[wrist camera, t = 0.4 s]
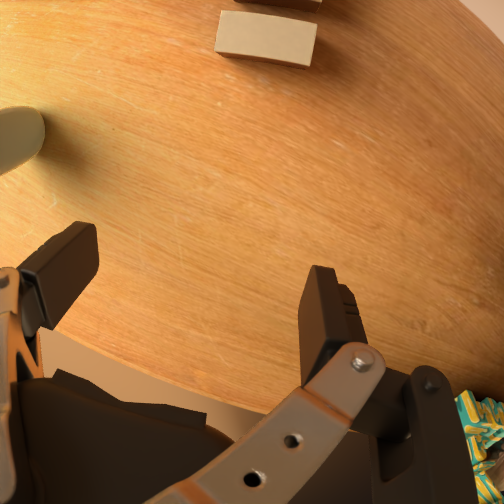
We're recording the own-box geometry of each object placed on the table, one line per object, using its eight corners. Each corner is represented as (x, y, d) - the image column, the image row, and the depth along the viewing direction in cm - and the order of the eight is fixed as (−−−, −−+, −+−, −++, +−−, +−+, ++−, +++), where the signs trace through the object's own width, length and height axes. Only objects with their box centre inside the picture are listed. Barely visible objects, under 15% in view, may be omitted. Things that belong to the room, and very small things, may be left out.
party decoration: (429, 415, 52) (458, 569, 18) (468, 385, 47) (513, 547, 12) (481, 425, 58) (509, 535, 23) (511, 402, 52) (547, 514, 18)
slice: (229, 21, 23) (221, 9, 19) (312, 33, 23) (317, 24, 19) (222, 57, 25) (213, 51, 21) (305, 70, 25) (310, 65, 21)
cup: (12, 109, 28) (-42, 125, 19) (50, 94, 27) (-9, 105, 18) (20, 163, 31) (-31, 188, 23) (57, 153, 31) (3, 179, 22)
